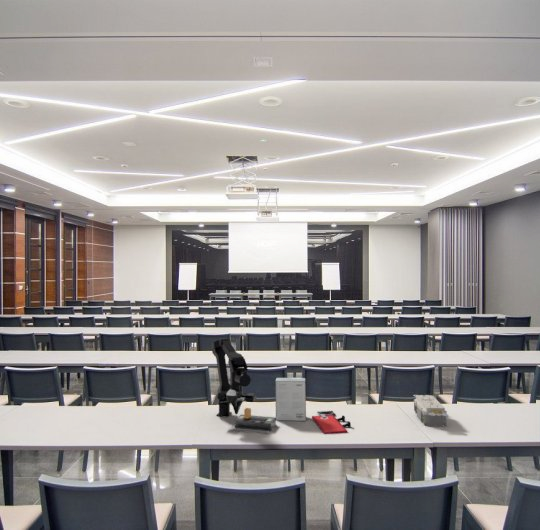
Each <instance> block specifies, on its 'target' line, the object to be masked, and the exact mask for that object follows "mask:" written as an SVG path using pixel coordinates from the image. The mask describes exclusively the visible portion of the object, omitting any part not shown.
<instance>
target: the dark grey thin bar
mask: <svg viewBox="0 0 540 530" xmlns="http://www.w3.org/2000/svg"><path fill="white" fill-rule="evenodd" d="M234 431H235V432H243V433H250V434H251V433H254V434H262V435H268V434H269V431H268V430H263V429H253V428H243V427H235V426H234Z"/></svg>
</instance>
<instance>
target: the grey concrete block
mask: <svg viewBox="0 0 540 530" xmlns="http://www.w3.org/2000/svg"><path fill="white" fill-rule="evenodd" d="M412 396H413V397H415V399H413V411H414V413H415V414H416V418H417V419H418V420H419V421H420V422H422V423H423V426H427V427H444V426H447V417H449V414H448V411H447V410H446V407H445V406H444V405H443V404H441V402H439V401H438V399H437V398H436V397H435V396H434V395H431V394H430V395H429V394H424V395H423V394H420V395H419V394H413V395H412ZM443 425H444V426H443Z"/></svg>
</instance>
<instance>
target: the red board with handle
mask: <svg viewBox="0 0 540 530" xmlns="http://www.w3.org/2000/svg"><path fill="white" fill-rule="evenodd" d="M317 414H318V415H312V416H311V419H312V420H313V421H314V423H315V424H316V426H317V427H318V428H319V429H320V431H321V432H322V434H324V435H327V434H330V435H331V434H346V433H347V434H348V430H347V429H346V428H349V429H350V427H351V422H350V421H347V423H344V422H346V416H345V415H341V417H339V418H337V417H336V413H335V412H334V411H333V410H322V411H317ZM340 421H341V422H343V423H344V424H343V423H341V422H340ZM351 428H352V427H351Z"/></svg>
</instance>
